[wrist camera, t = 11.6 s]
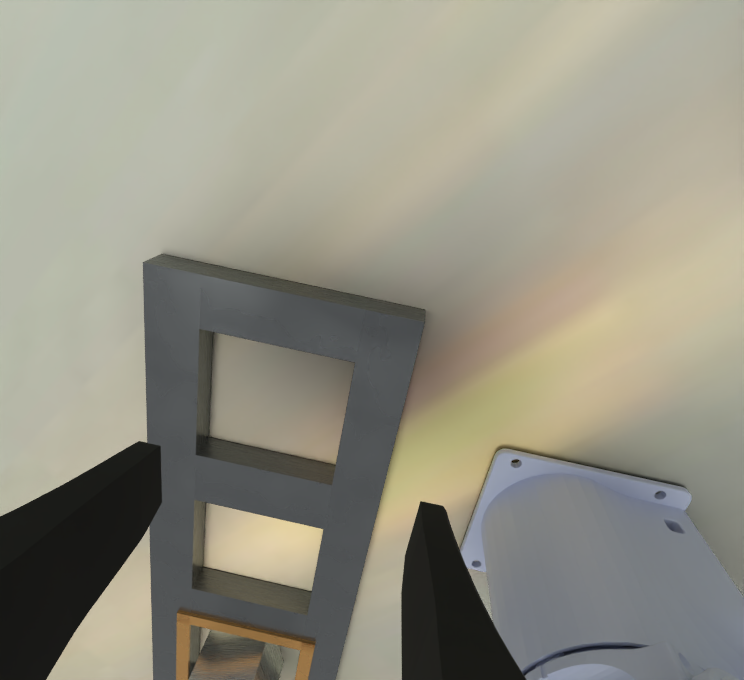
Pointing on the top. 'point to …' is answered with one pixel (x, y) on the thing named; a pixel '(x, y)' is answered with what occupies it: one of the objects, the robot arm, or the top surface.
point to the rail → (264, 457)
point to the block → (237, 659)
